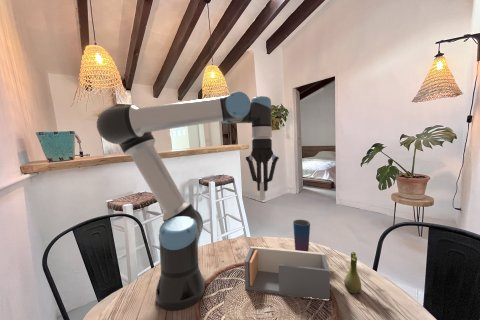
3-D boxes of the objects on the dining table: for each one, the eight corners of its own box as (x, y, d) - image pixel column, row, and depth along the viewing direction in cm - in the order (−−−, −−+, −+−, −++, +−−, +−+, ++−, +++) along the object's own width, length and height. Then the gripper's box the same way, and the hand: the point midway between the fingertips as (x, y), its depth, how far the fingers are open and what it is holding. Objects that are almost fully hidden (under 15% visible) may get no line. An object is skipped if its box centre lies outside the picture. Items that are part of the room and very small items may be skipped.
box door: (252, 286, 70) (251, 262, 69) (249, 285, 70) (249, 262, 69) (257, 271, 78) (257, 250, 77) (255, 270, 78) (255, 249, 78)
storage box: (245, 289, 70) (244, 261, 69) (251, 270, 81) (250, 246, 80) (329, 301, 64) (329, 271, 63) (324, 279, 74) (324, 253, 74)
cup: (311, 262, 86) (311, 225, 85) (293, 260, 87) (293, 224, 86) (309, 253, 92) (309, 219, 91) (293, 252, 94) (292, 219, 93)
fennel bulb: (355, 298, 65) (356, 260, 64) (340, 289, 69) (340, 253, 68) (364, 290, 68) (365, 254, 68) (349, 282, 72) (349, 248, 72)
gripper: (280, 138, 83) (280, 197, 84) (248, 139, 87) (249, 196, 89) (277, 137, 76) (277, 202, 77) (242, 138, 80) (243, 200, 81)
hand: (262, 199), depth 83 cm, fingers closed
